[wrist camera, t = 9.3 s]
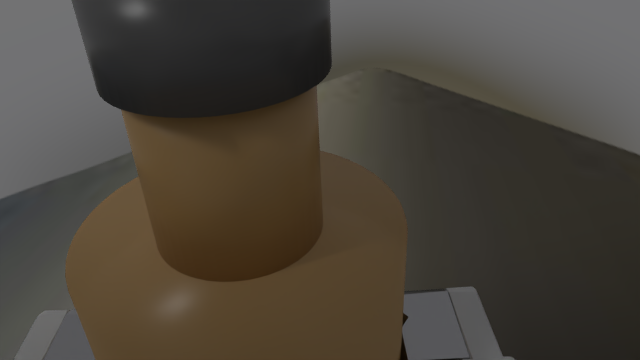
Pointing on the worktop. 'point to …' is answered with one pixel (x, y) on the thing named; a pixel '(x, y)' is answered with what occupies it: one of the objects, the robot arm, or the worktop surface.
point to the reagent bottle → (231, 194)
